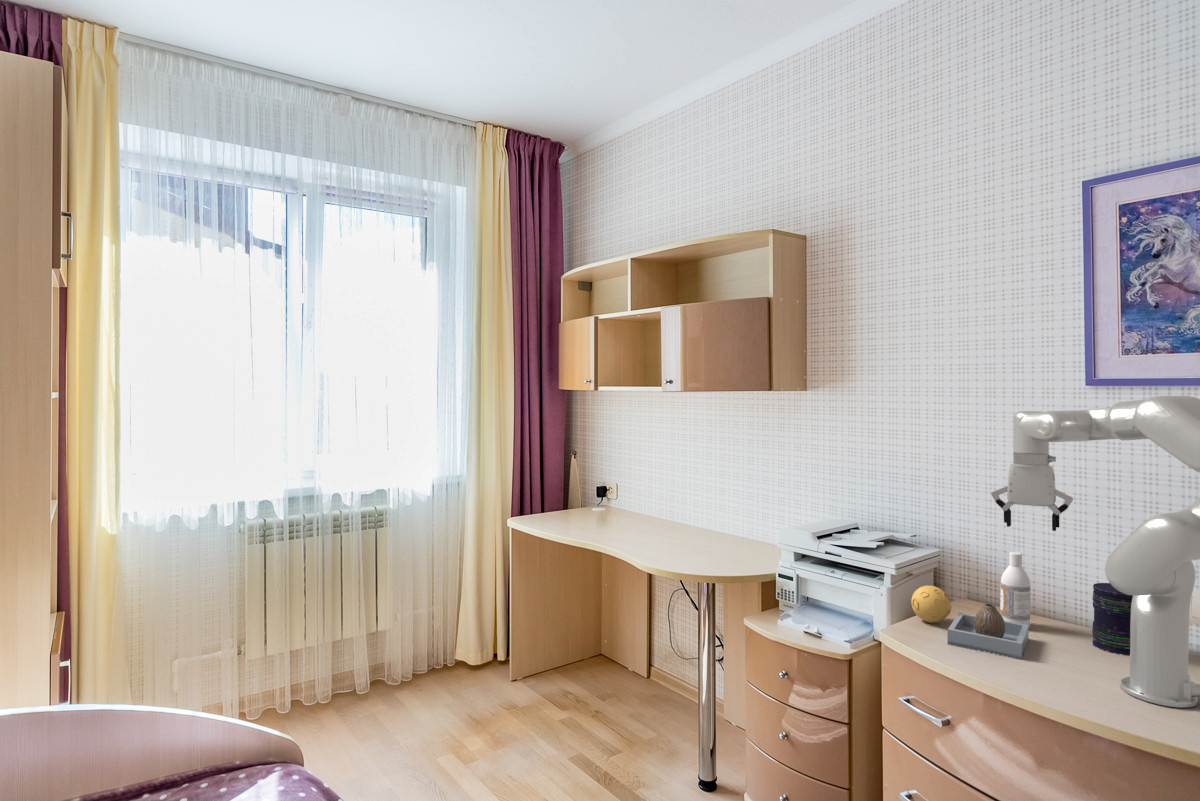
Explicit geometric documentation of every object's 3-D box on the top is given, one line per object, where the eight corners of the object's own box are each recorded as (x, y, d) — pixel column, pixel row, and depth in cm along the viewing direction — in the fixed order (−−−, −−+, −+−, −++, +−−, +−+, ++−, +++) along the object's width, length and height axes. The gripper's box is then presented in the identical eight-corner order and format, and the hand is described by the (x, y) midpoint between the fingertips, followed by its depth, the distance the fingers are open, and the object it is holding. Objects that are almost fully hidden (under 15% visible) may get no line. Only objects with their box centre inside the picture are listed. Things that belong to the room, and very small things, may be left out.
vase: (1009, 645, 168) (1010, 610, 167) (979, 643, 169) (979, 608, 169) (998, 635, 174) (999, 601, 174) (970, 633, 176) (970, 600, 175)
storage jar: (1091, 637, 175) (1091, 580, 174) (1139, 645, 169) (1140, 586, 169) (1092, 650, 166) (1093, 590, 166) (1143, 658, 161) (1144, 597, 161)
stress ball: (914, 618, 192) (897, 600, 188) (935, 591, 193) (918, 572, 189) (943, 635, 183) (925, 617, 179) (964, 607, 184) (947, 588, 180)
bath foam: (999, 619, 188) (1000, 548, 188) (1028, 623, 185) (1029, 551, 185) (1001, 627, 182) (1001, 554, 182) (1031, 631, 179) (1032, 557, 179)
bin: (1028, 639, 173) (1028, 625, 173) (1021, 659, 161) (1021, 643, 160) (959, 626, 183) (959, 612, 183) (947, 644, 170) (947, 629, 170)
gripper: (1073, 460, 167) (1073, 529, 167) (993, 457, 177) (993, 522, 177) (1072, 463, 161) (1072, 534, 161) (989, 459, 171) (989, 526, 171)
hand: (1031, 528), depth 169 cm, fingers open, 9 cm apart
